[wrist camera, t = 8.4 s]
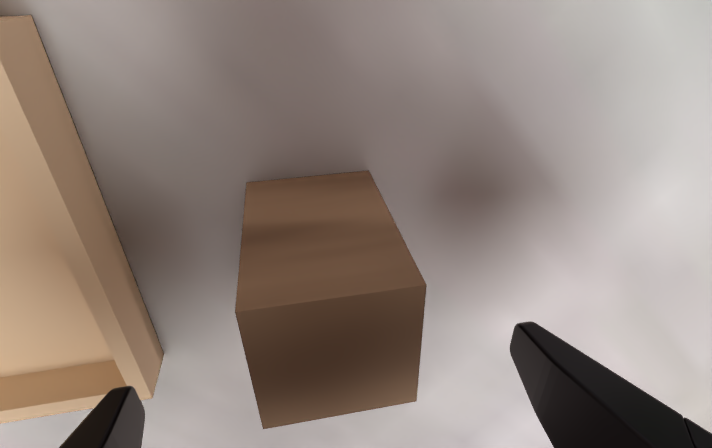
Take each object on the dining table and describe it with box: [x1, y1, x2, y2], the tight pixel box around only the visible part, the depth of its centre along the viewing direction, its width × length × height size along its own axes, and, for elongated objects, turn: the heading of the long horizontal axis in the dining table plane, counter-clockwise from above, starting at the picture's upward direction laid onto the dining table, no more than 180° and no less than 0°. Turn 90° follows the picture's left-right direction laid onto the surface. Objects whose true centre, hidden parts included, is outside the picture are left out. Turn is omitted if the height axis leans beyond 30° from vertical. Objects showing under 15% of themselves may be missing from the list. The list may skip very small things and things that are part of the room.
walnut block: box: [235, 171, 426, 429], centre depth 12 cm, size 4×4×6 cm
